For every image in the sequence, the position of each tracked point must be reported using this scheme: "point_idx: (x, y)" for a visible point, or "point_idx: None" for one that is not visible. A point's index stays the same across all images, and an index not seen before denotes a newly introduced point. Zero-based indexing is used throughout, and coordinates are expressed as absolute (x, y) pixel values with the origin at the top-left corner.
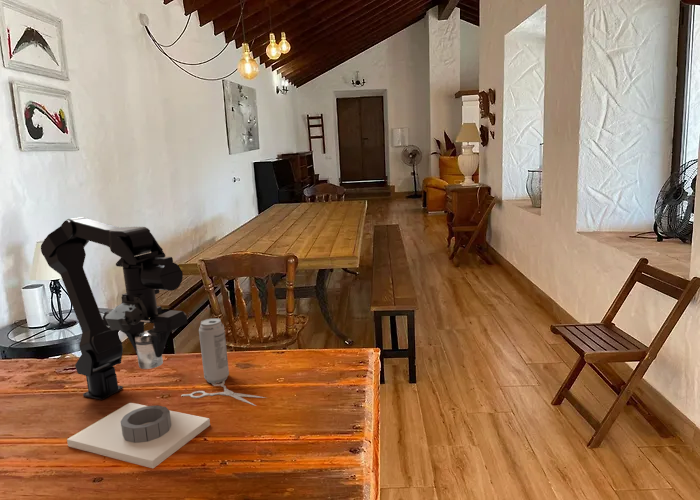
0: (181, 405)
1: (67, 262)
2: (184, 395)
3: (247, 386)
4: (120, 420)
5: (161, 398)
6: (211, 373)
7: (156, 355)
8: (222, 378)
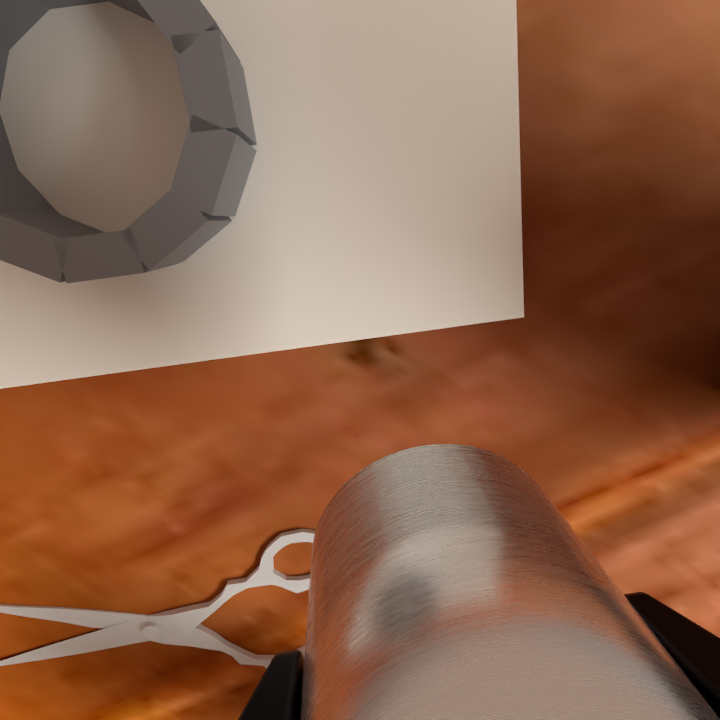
0: (282, 454)
1: None
2: None
3: (157, 701)
4: (384, 131)
5: None
6: None
7: (290, 672)
8: None
